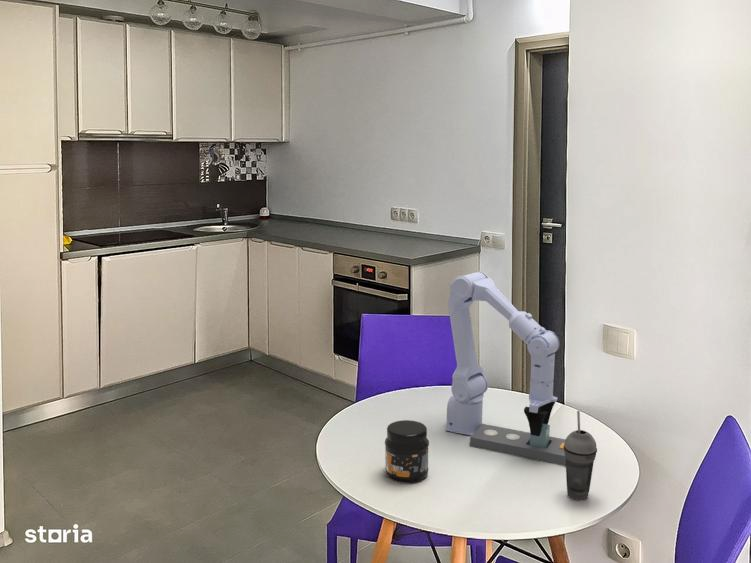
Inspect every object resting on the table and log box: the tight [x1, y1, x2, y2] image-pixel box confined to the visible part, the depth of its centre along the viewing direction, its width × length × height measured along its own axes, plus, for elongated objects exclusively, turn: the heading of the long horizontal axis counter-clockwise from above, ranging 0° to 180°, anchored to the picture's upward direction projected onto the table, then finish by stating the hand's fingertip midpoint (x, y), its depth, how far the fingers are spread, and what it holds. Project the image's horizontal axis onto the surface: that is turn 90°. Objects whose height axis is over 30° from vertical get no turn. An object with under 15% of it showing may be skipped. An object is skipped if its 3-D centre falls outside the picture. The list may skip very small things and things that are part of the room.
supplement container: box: [384, 419, 430, 484], centre depth 172 cm, size 10×10×12 cm
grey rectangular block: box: [529, 424, 551, 448], centre depth 184 cm, size 4×4×7 cm
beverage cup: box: [564, 410, 598, 502], centre depth 160 cm, size 7×7×20 cm
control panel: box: [469, 423, 566, 467], centre depth 186 cm, size 26×10×3 cm, turn 62°
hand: (539, 429), depth 184 cm, fingers open, 7 cm apart
